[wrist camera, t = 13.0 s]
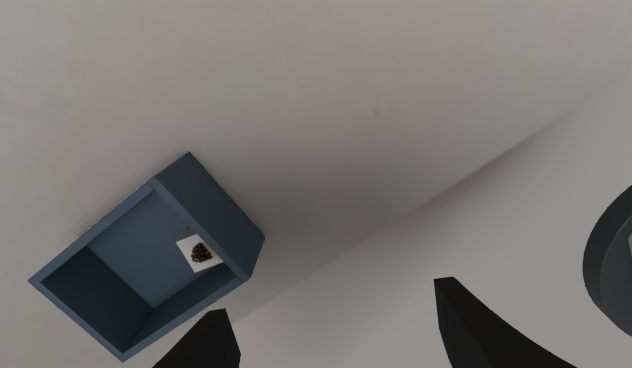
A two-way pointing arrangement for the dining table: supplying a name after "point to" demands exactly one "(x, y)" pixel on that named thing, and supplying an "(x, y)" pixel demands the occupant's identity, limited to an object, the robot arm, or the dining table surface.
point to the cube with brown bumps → (197, 251)
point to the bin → (152, 260)
